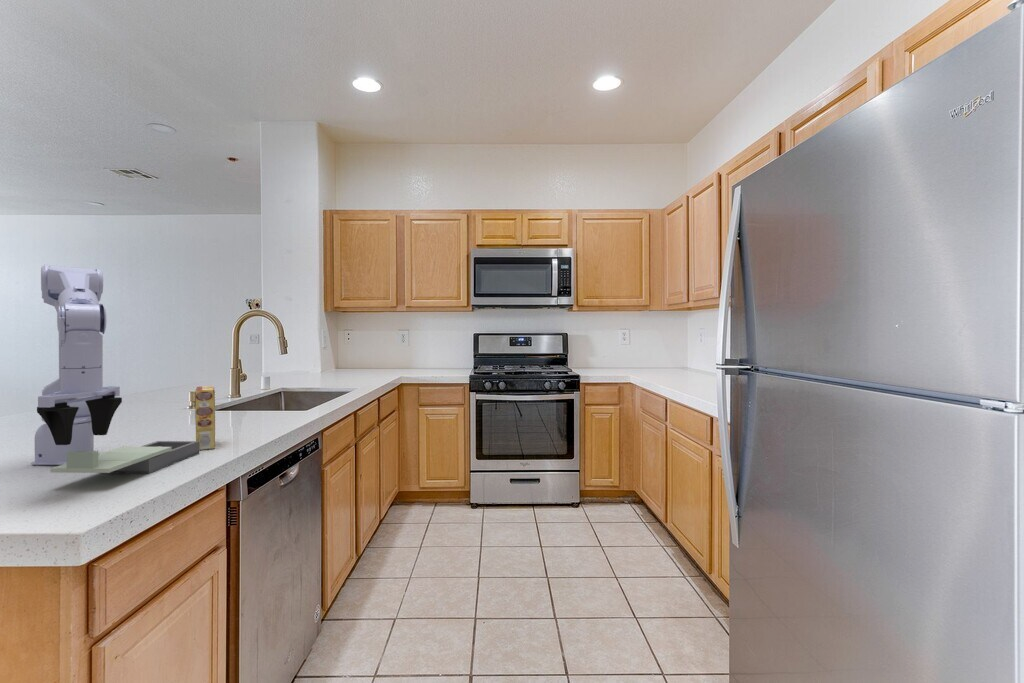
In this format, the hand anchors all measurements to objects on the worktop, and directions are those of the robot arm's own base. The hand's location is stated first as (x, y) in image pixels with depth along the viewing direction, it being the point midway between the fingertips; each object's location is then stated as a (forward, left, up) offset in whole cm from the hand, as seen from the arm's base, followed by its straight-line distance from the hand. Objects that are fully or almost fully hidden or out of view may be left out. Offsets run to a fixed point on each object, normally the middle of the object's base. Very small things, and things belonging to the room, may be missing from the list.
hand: (82, 439), depth 86 cm
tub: (0, +18, -9) cm, 20 cm away
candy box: (+2, +33, -10) cm, 34 cm away
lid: (0, +8, -6) cm, 10 cm away
